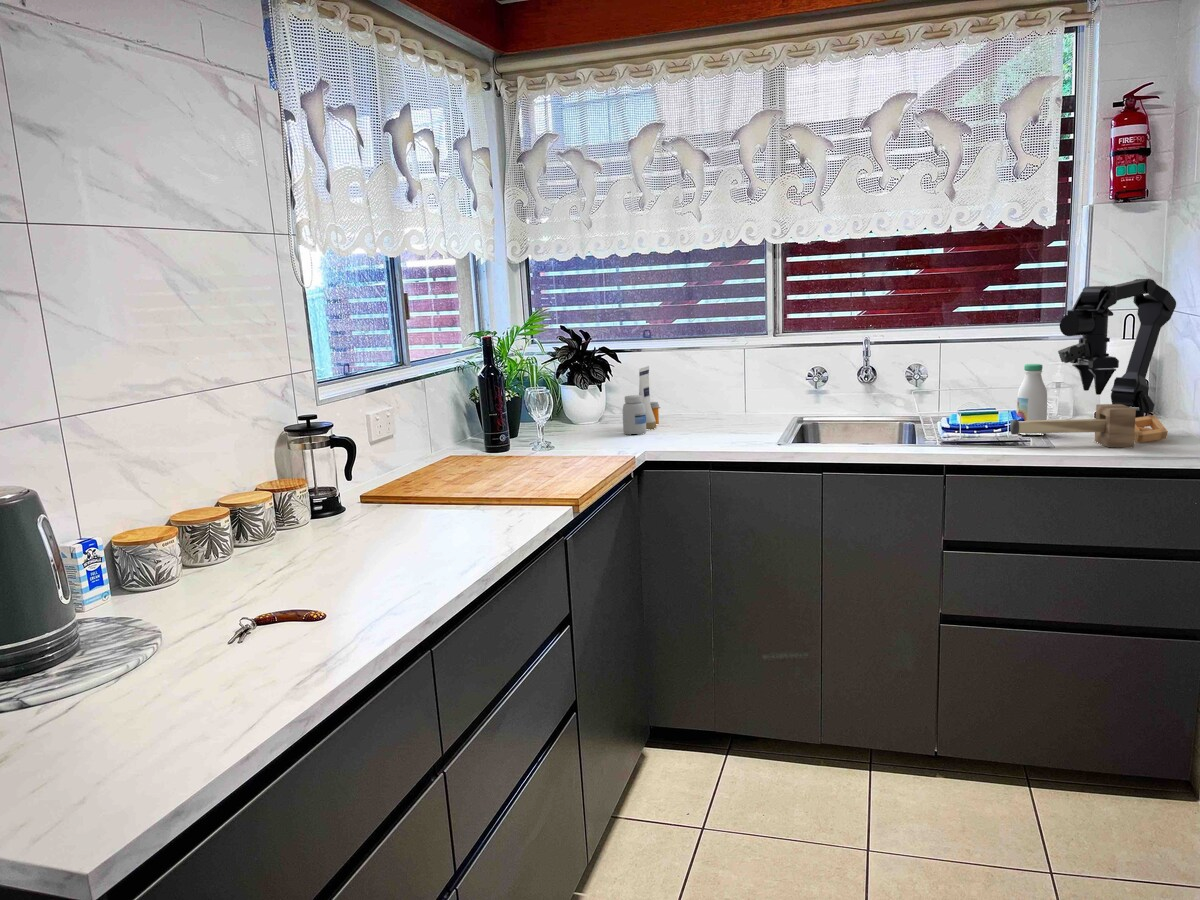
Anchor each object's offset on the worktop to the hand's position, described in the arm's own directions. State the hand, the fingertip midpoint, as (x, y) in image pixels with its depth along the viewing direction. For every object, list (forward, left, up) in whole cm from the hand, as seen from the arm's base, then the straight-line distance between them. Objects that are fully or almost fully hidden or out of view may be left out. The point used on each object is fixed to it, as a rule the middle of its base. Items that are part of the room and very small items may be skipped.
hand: (1092, 392), depth 244 cm
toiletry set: (-34, -126, -13) cm, 131 cm away
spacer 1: (-2, +13, -13) cm, 19 cm away
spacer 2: (+2, +13, -10) cm, 16 cm away
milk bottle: (-11, -12, -13) cm, 21 cm away
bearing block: (+7, +4, -13) cm, 15 cm away
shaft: (+7, -10, -10) cm, 16 cm away
